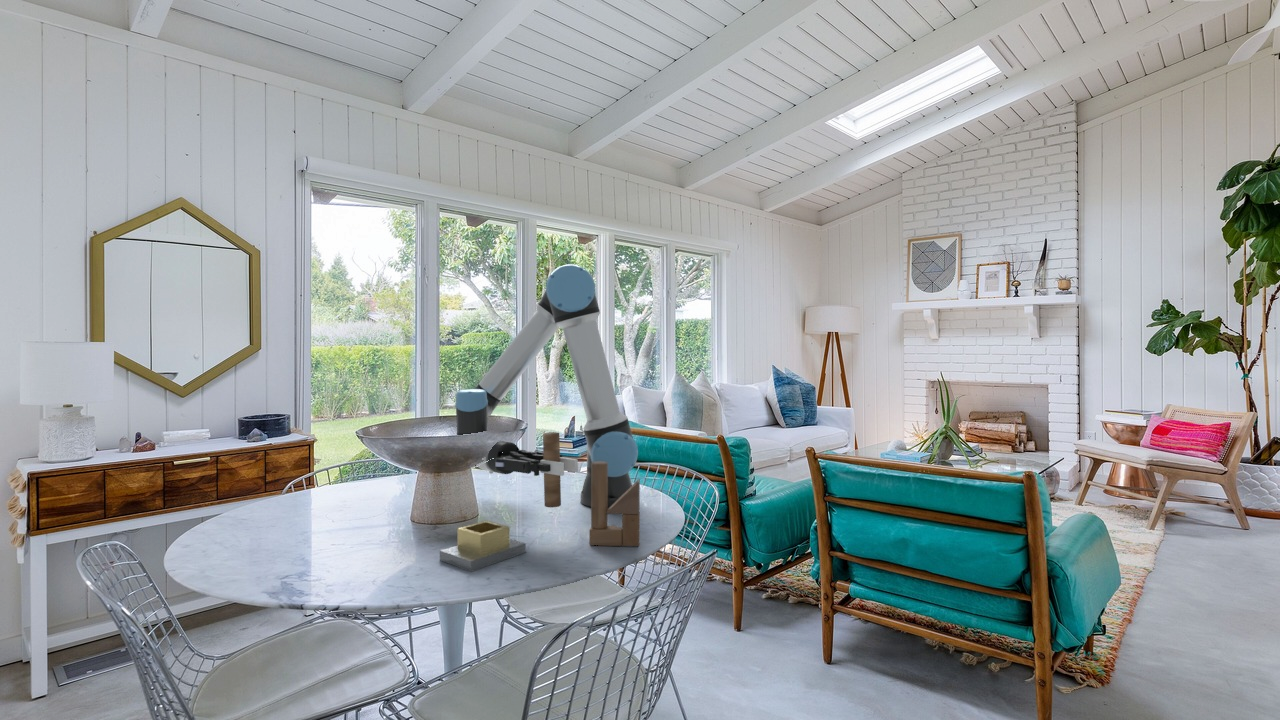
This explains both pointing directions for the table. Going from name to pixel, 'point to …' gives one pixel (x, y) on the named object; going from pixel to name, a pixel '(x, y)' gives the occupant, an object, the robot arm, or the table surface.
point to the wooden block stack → (613, 511)
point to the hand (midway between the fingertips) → (569, 467)
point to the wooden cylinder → (551, 481)
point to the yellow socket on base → (482, 546)
